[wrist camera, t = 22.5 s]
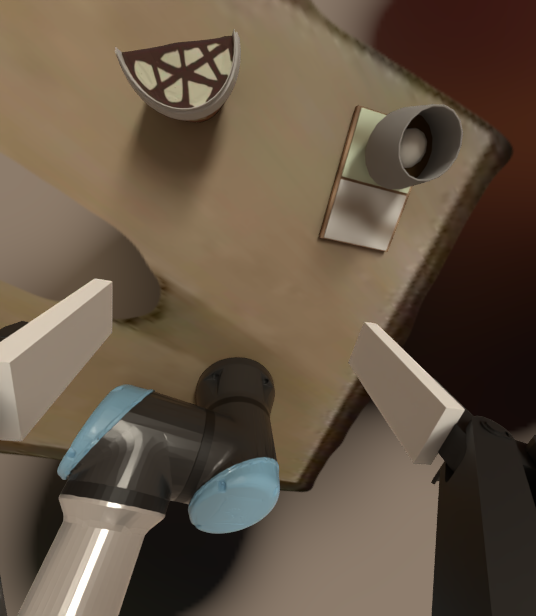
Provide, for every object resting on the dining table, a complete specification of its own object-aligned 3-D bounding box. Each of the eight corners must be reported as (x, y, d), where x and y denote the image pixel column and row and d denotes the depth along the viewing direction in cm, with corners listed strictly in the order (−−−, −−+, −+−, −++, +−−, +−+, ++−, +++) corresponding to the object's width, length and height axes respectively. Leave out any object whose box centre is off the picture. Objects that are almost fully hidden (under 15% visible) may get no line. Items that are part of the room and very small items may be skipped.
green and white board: (384, 251, 47) (388, 252, 46) (318, 236, 45) (320, 238, 44) (430, 130, 41) (435, 129, 40) (355, 106, 38) (359, 104, 37)
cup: (413, 104, 38) (470, 79, 29) (420, 175, 42) (472, 172, 33) (348, 130, 39) (383, 113, 29) (361, 198, 42) (396, 202, 33)
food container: (157, 139, 37) (132, 125, 28) (141, 83, 35) (108, 47, 26) (247, 124, 38) (251, 106, 29) (238, 68, 35) (240, 27, 26)
